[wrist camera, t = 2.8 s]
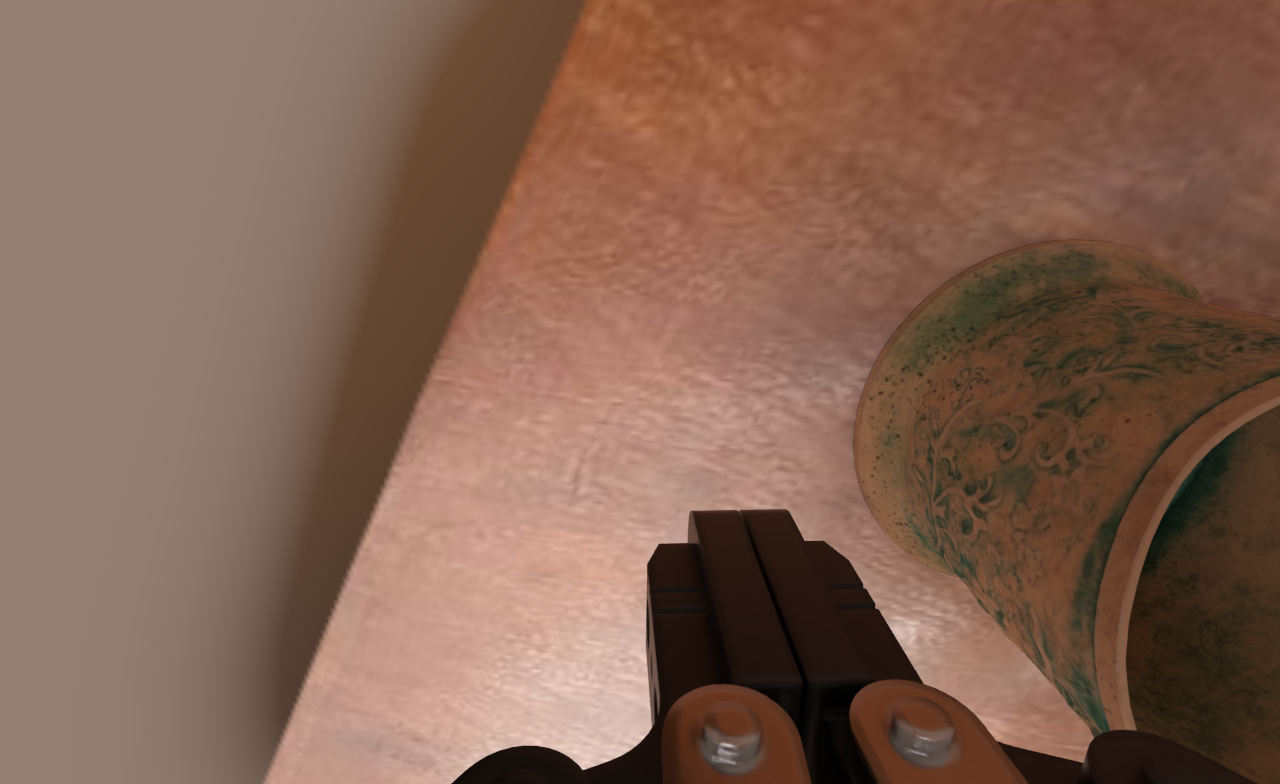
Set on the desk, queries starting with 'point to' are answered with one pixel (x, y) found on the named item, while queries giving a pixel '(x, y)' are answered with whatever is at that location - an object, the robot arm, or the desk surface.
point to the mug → (1097, 484)
